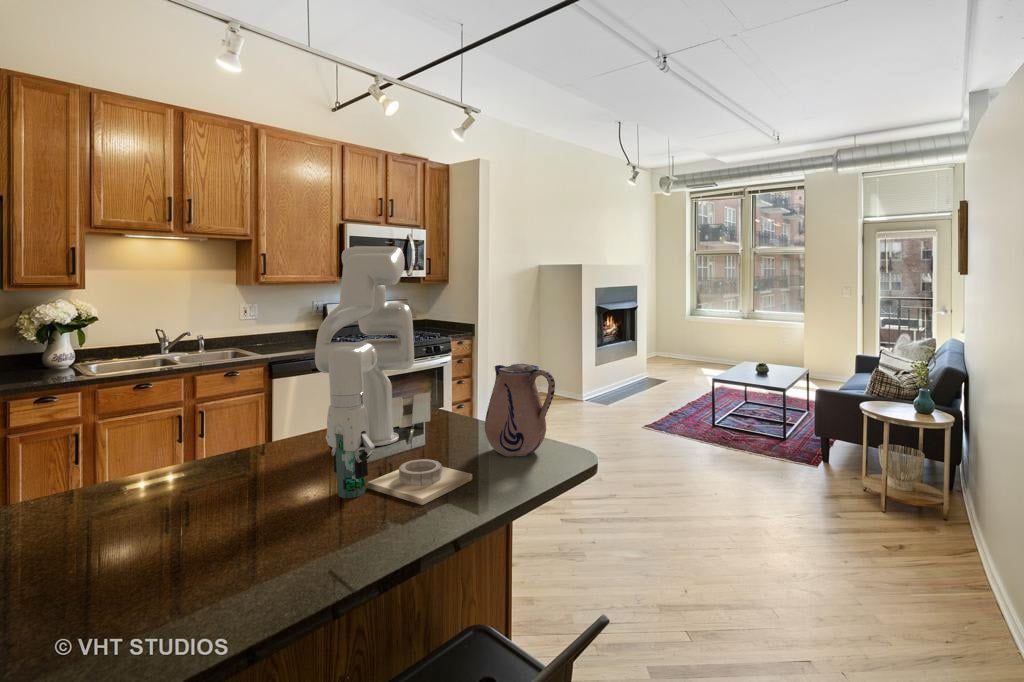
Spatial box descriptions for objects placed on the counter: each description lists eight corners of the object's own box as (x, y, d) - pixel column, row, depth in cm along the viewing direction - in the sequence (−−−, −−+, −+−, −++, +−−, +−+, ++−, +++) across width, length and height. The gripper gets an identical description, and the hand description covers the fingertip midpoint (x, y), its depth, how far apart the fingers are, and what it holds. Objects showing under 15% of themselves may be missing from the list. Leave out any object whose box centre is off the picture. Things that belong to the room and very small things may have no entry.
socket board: (367, 488, 134) (366, 470, 133) (419, 466, 149) (419, 450, 148) (422, 505, 124) (422, 485, 123) (472, 479, 139) (472, 462, 138)
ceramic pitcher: (499, 440, 171) (498, 360, 168) (565, 448, 163) (565, 364, 160) (474, 458, 155) (473, 369, 152) (546, 467, 147) (546, 374, 144)
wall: (436, 434, 192) (435, 399, 202) (431, 420, 185) (430, 385, 195) (390, 442, 192) (390, 406, 202) (382, 429, 185) (384, 393, 195)
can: (351, 500, 127) (348, 436, 125) (332, 494, 130) (329, 432, 128) (370, 490, 132) (367, 429, 131) (352, 486, 135) (349, 426, 134)
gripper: (310, 398, 130) (314, 471, 132) (359, 408, 121) (363, 487, 123) (336, 392, 136) (339, 462, 139) (385, 401, 127) (388, 476, 129)
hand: (350, 473), depth 131 cm, fingers open, 6 cm apart
